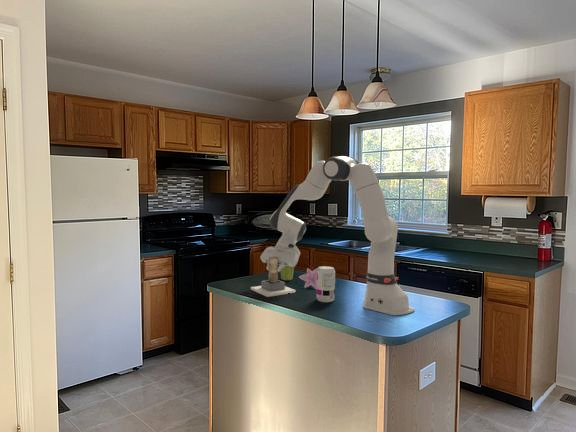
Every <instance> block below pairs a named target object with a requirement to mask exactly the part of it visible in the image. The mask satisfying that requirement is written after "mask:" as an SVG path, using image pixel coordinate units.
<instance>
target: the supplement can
mask: <svg viewBox="0 0 576 432" xmlns="http://www.w3.org/2000/svg"><path fill="white" fill-rule="evenodd" d="M317 268H318V270H317V289H316V296H315V297H316V300H317V301H318V302H319V303H331V302H334V301H335V290H336V269H335V267H333V266H328V265H326V266H325V265H322V266H318V267H317Z"/></svg>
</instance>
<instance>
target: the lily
mask: <svg viewBox="0 0 576 432" xmlns="http://www.w3.org/2000/svg"><path fill="white" fill-rule="evenodd" d="M318 268H319V267H317V268H315V269H313V270H311V269H310V268H309V267H307V268H306V273H304V274H302V275H299V276H298V278H299V279H301V280H302V281H304V282H305V283H304V286H303V287H304V289H307V288H308V287H310V286H312V288H313V289H315V290H317V270H318Z"/></svg>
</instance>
